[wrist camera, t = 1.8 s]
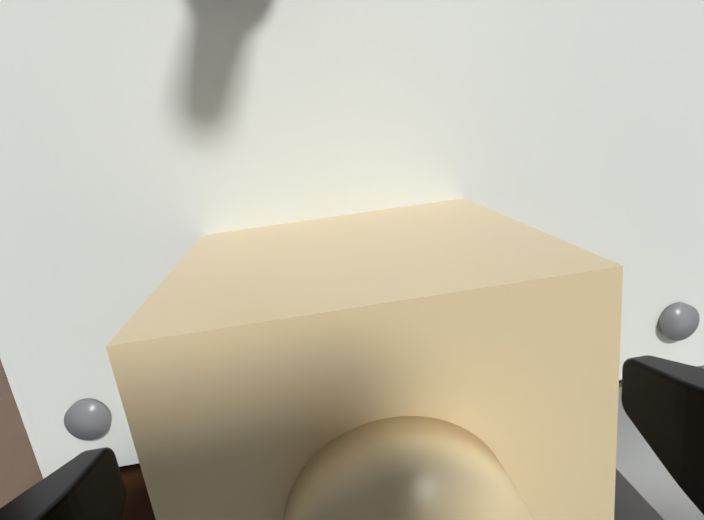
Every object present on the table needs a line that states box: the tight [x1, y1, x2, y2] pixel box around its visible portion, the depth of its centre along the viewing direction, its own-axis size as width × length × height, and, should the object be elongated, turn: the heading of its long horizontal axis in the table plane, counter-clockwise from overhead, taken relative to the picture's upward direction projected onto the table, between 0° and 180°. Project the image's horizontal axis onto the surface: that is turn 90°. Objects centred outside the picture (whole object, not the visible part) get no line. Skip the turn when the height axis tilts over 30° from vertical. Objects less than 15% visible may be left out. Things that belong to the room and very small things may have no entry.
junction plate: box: [0, 0, 704, 479], centre depth 9 cm, size 15×18×5 cm
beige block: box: [106, 198, 623, 520], centre depth 9 cm, size 6×6×7 cm
